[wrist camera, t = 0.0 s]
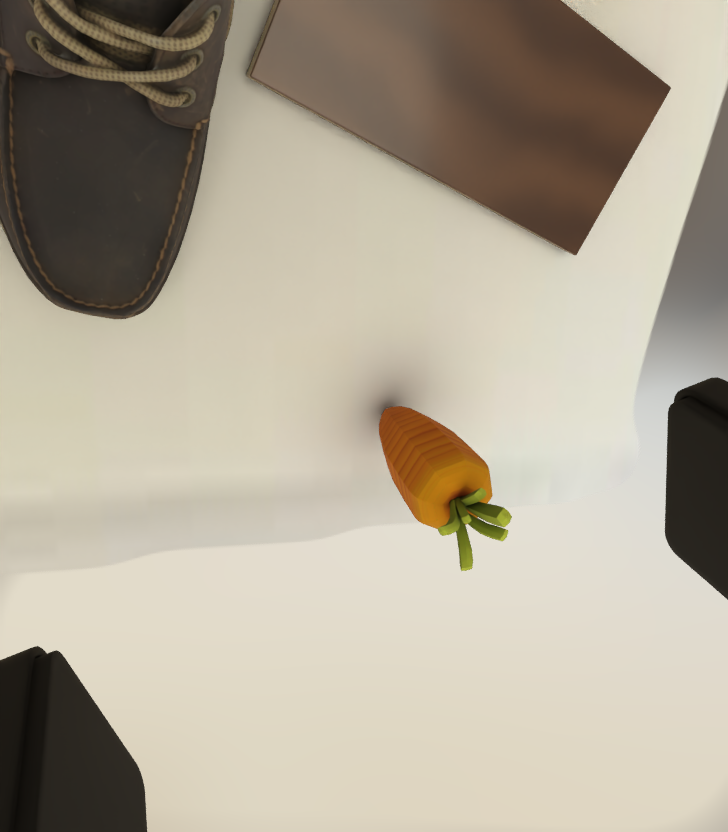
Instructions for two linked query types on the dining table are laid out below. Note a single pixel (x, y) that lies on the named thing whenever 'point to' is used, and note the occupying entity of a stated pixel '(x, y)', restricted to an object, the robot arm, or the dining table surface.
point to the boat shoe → (104, 141)
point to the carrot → (440, 478)
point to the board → (473, 97)
